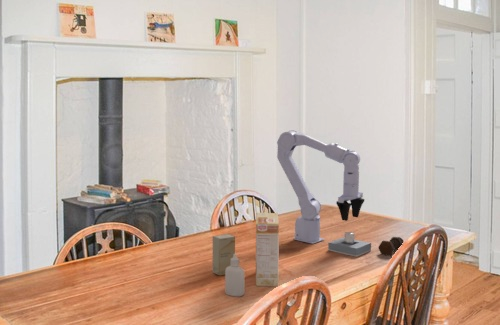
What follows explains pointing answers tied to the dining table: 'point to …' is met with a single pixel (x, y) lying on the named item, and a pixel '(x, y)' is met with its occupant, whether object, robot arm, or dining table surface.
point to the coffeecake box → (267, 249)
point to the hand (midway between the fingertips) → (350, 218)
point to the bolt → (390, 245)
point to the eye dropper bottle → (234, 278)
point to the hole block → (349, 247)
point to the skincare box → (222, 252)
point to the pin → (350, 238)
